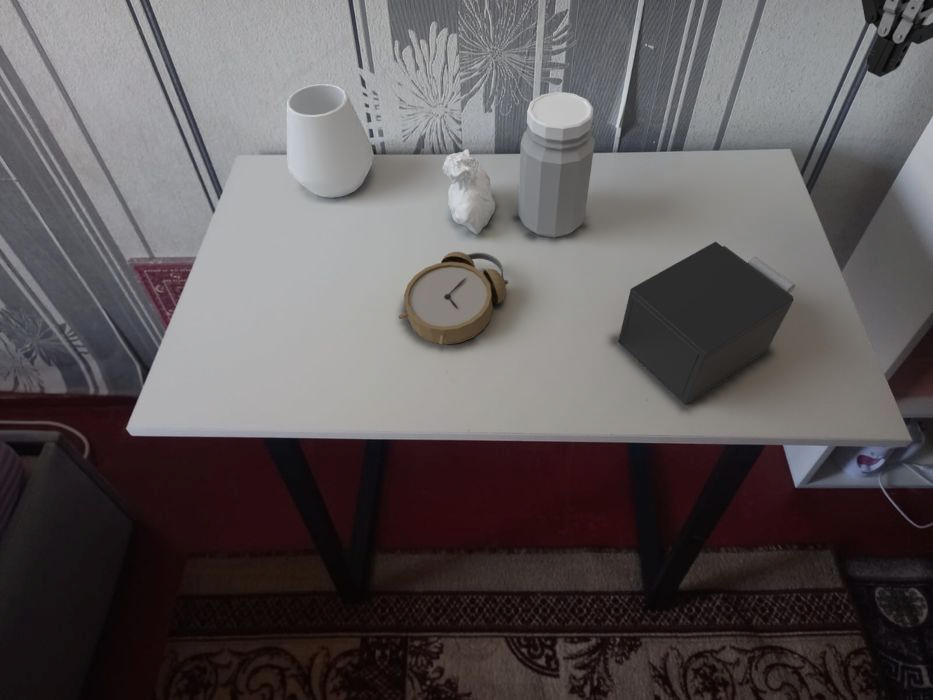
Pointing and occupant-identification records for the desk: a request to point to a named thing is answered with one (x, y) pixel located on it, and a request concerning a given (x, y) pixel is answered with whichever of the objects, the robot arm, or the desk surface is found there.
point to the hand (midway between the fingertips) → (878, 71)
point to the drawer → (769, 274)
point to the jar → (555, 164)
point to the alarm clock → (453, 298)
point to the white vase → (326, 141)
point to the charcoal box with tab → (702, 320)
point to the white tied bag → (468, 191)
